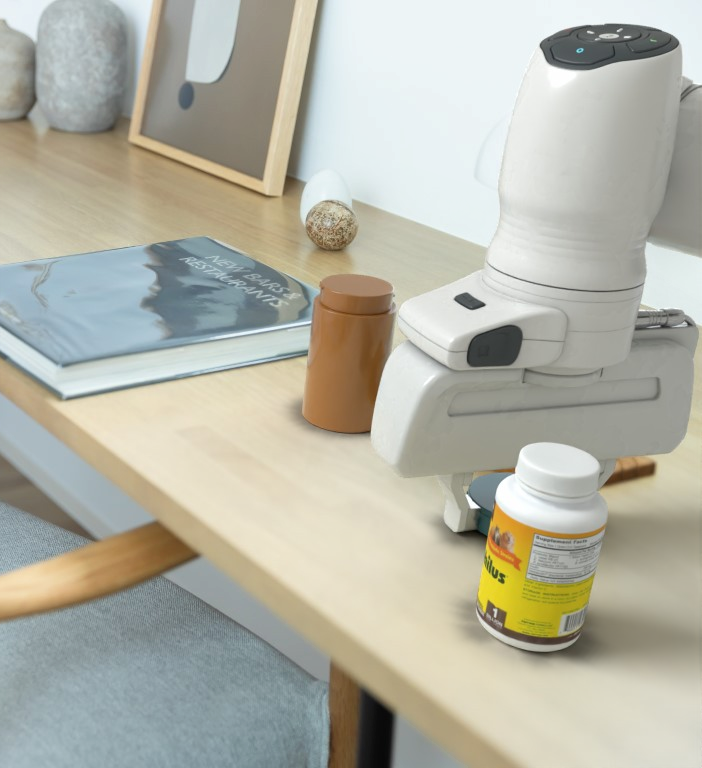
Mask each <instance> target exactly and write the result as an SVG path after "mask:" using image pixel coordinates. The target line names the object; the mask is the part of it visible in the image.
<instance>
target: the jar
mask: <svg viewBox="0 0 702 768" xmlns="http://www.w3.org/2000/svg"><path fill="white" fill-rule="evenodd" d="M318 285H319V288H320V290H319V293H318V294H316V295H315V296H314V298H313V303H312V312H311V313H312V314H311V321H310V330H309V331H310V333H309V342H308V351H307V358H306V370H305V377H304V378H305V379H304V386H303V387H304V389H303V397H302V408H301V415H302V417H303V418H304V419H305V420H306V421H307V422H309V423H310V424H311V425H314V426H315V427H318V428H319V429H320V428H321V429H324V430H327V431H331V432H337V433H345V434H359V433H366V432H371V427H372V420H373V414H374V408H375V403H376V398H377V393H378V389H379V385H380V381H381V377H382V373H383V370H384V367H385V364H386V362H387V360H388V358H389V356H390V355H391V353H392V352H393V345H394V337H395V330H396V321H397V317H398V305H397V304H396V302H395V301H394V297H395V296H396V294H395V286H394V285H393V284H391V283H390V282H389V281H387V280H384V279H382V278H379V277H375V276H371V275H366V274H357V273H356V274H355V273H339V274H333V275H332V274H331V275H328V276H326V277H324V278H322V280H321V281H319V284H318Z"/></svg>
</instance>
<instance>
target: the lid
mask: <svg viewBox="0 0 702 768" xmlns="http://www.w3.org/2000/svg"><path fill="white" fill-rule="evenodd" d="M513 474H515V472H507V471H506V472H491V473H486V474H483V475H480V476H477V477H476V478H474V479H472V483H471V485H470V486H468V489H467V491H466V494H467V495H469V496H470V497H471V498H472V500H473V502H475V503H476V504H477V505H479V506H480V507H481V508H482V510H481V516H480V518H479V519H478V522H479V527H478V528H477V530H476V531H478V532H479V533H482V534H483V535H485V536H487V537H488V533H489V528H490V522H491V517H492V511H493V506H494V500H495V495H496V491H497V488H498V486H499V484H500V483H501V482H502V481H503V480H504V479H505V478H507V477H508V476H510V475H513Z"/></svg>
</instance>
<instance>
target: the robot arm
mask: <svg viewBox="0 0 702 768" xmlns="http://www.w3.org/2000/svg"><path fill="white" fill-rule="evenodd" d="M683 68H684V55H683V44H682V43H681V41H680V40H679V39H678V37H676V36H674V35H673V34H672V33H669V32H667V31H665V30H662V29H659V28H656V27H653V26H647V25H641V24H631V23H617V22H616V23H615V22H614V23H613V22H611V23H610V22H609V23H604V24H583V25H576V26H572V27H567V28H564V29H561V30H558V31H557V32H555V33H553V34H551V35H549V36H546V37H545V38H543V39H542V40H541V41H539V43H538V44H537V45H536V47H535V49H534V50H533V52H532V54H531V56H530V58H529V61H528V64H527V66H526V67H525V70H524V73H523V75H522V79H521V81H520V83H519V87H518V90H517V93H516V97H515V100H514V104H513V108H512V112H511V115H510V119H509V123H508V128H507V133H506V137H505V141H504V145H503V150H502V157H501V162H500V167H499V171H498V178H497V195H498V201H499V214H498V215H499V216H498V222H497V225H496V228H495V231H494V233H493V236H492V238H491V239H490V241H489V244H488V246H487V249H486V252H485V258H484V263H483V268H482V269H479V270H475V271H474V272H472V273H470V274H468V275H466V276H464V277H461V278H459V279H457V280H455V281H453V282H449V283H447V284H445V285H442V286H440V287H437V288H435V289H432V290H430V291H427V292H424V293H421V294H417V295H416V296H413V297H411V298H408V299H406V300H405V301H404V302H402V304H401V305H400V307H399V310H398V312H397V328H398V330H399V332H400V333H402V335H403V336H404V337H405V338H406V340H404V341H402V342H401V343H400V344H398V345H397V346H396V347H395V348H394V349H393V350H392V353H391V355H390V356H389V358H388V360H387V362H386V364H385V367H384V370H383V373H382V377H381V381H380V385H379V389H378V393H377V398H376V403H375V408H374V414H373V420H372V427H371V430H370V443H371V447H372V449H373V450H374V452H375V454H376V456H378V458H379V459H380V460H381V461H382V462H383V464H384V465H386V466H387V467H388V468H389V469H390V470H391V471H392V472H394V473H395V475H397V476H398V477H399V478H402V479H416V478H427V477H435V478H436V480H437V483H438V484H439V487H440V489H441V491H442V493H443V495H444V497H445V505H444V510H443V521H444V524H445V525H446V526H447V528H449V529H450V530H451V531H452V532H453V533H462V532H470V531H478V530H477V528H478V527H479V522H478V519H479V518H480V516H481V510H482V508H481V507H480V506H479V505H477V504H476V503H475V502H473V500H472V498H471V497H470V496H469V495H467V493H466V492H465V490H464V487H469V486H470V485H471V483H472V481H473V477H474V473H480V472H491V471H500V470H501V471H502V470H511V469H515V468H516V466H517V463H518V458H519V454H520V451H521V449H522V448H523V447H525V446H527V445H529V444H533V443H542V442H547V443H548V442H549V443H558V444H564V445H568V446H572V447H575V448H578V449H580V450H583V451H585V452H587V453H589V454H590V455H592V456H593V457H594V458H596V459H597V461H598V462H599V464H600V474H599V479H598V487H597V489H596V491H598V492H599V491H600V490H601V488H602V487H603V486H604V485H605V484H606V482H607V481H608V480H609V479H610V477H612V475H614V473H615V470H616V466H617V462H618V459H625V458H636V457H646V456H647V457H648V456H657V455H667V454H671V453H672V452H673V451H675V449H677V447H678V446H679V445H680V444H681V443H682V442H683V440H684V439H686V435H687V432H688V427H689V423H690V416H691V410H692V403H693V395H694V393H693V392H694V382H695V363H694V358H695V355H696V350H697V346H698V342H699V338H700V329H699V327H698V326H697V324H696V321H695V320H694V319H693V318H692V317H691V316H689V315H688V314H685V312H684V310H683V309H682V308H677V307H664V308H663V307H662V308H660V309H656V310H654V309H652V310H651V309H640V307H641V302H642V298H643V294H644V289H645V284H646V280H647V275H648V262H647V250H646V249H647V243H649V244H651V245H653V246H654V247H657V248H660V249H665V250H669V251H672V252H675V253H680V254H684V255H688V256H690V257H691V256H692V257H695V258H699V259H702V83H699V82H694V80H693V79H692V78H690V77H687V75H684V74H683V73H684V72H683V70H684V69H683Z"/></svg>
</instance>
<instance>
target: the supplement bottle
mask: <svg viewBox="0 0 702 768" xmlns="http://www.w3.org/2000/svg"><path fill="white" fill-rule="evenodd" d="M514 469H515V470H514V473H515V474H513V475H510V476H508V477H507V478H505V479H504V480H503V481H502V482H501V483H500V484H499V486H498V488H497V491H496V495H495V500H494V506H493V511H492V517H491V522H490V528H489V533H488V536H487V539H486V545H485V552H484V556H483V562H482V567H481V572H480V573H481V574H480V579H479V584H478V589H477V596H476V602H475V613H476V616H477V619H478V621H479V623H480V624H481V625H482V627H483V628H484V629H485V630H486V631H487V632H488V633H489V634H490V635H492V636H493V637H494V638H496V639H497V640H499V641H501V642H502V643H505V644H507V645H509V646H512V647H514V648H517V649H521V650H525V651H531V652H541V653H543V652H544V653H545V652H555V651H560V650H563V649H566V648H568V647H570V646H572V645H573V644H575V642H576V641H577V640H578V639H579V637H580V636H581V634H582V631H583V627H584V623H585V619H586V615H587V610H588V605H589V602H590V597H591V592H592V590H593V589H592V588H593V585H594V580H595V575H596V571H597V567H598V563H599V558H600V554H601V549H602V545H603V541H604V537H605V531H606V527H607V522H608V519H609V517H608V516H609V506H608V503H607V500H606V499H605V498H604V496H603V495H602V494H601V493H600V492H599V491H596V489H597V487H598V479H599V474H600V464H599V462H598V461H597V459H596V458H594V457H593V456H592V455H590V454H589V453H587V452H585V451H583V450H580V449H578V448H575V447H572V446H568V445H564V444H558V443H549V442H548V443H547V442H542V443H533V444H529V445H527V446H525V447H523V448H522V449H521V451H520V454H519V458H518V463H517V466H516V468H514Z"/></svg>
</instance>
